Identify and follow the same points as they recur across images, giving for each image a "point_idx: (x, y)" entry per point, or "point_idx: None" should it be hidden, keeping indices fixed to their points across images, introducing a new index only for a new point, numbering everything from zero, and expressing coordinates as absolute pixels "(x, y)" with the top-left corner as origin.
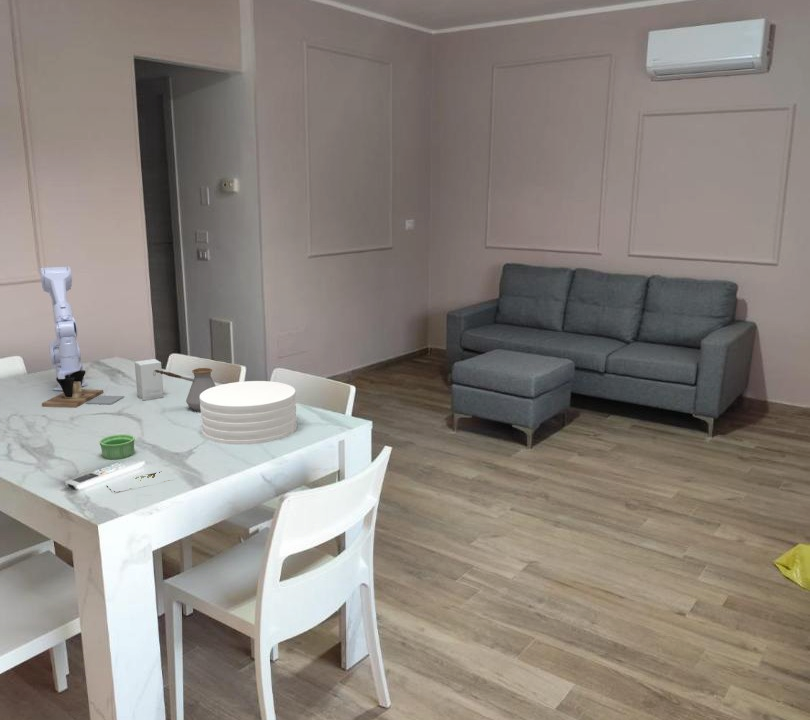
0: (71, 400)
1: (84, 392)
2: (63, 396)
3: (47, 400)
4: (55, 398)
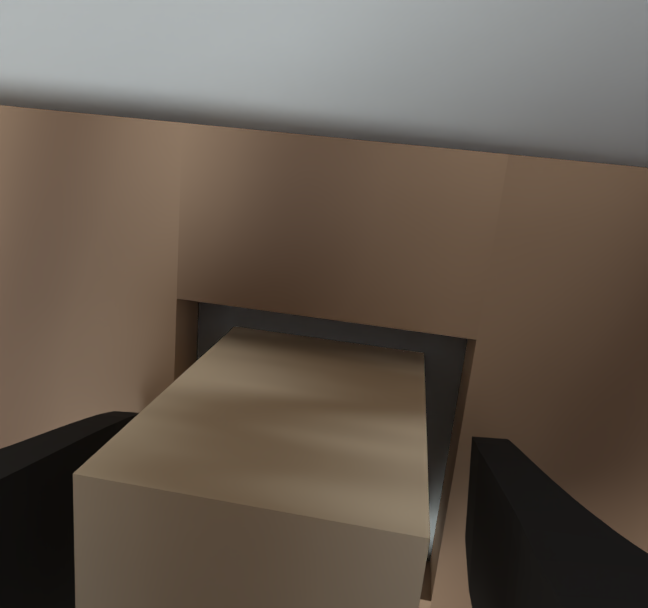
0: None
1: None
2: (288, 289)
3: (19, 114)
4: (153, 200)
